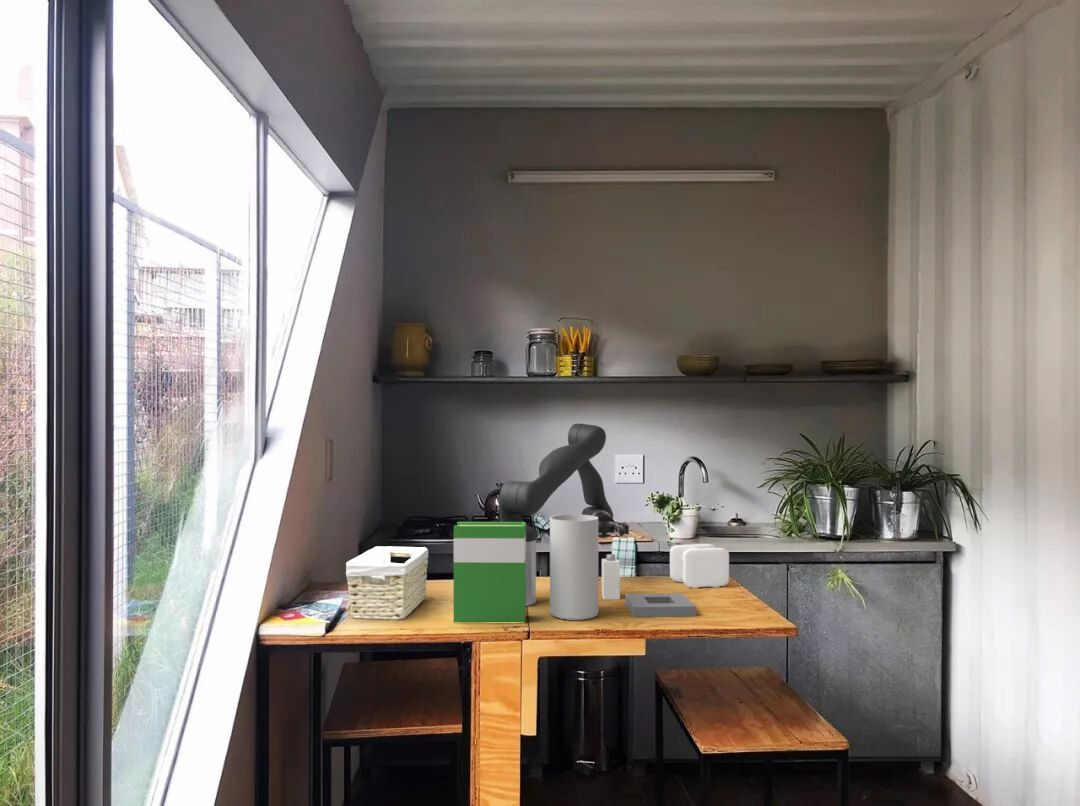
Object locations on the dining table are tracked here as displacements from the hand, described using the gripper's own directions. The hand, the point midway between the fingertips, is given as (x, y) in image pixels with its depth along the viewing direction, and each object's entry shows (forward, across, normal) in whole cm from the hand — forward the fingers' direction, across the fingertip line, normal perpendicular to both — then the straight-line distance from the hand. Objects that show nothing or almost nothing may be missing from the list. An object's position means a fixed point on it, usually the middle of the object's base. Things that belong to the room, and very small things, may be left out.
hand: (607, 533), depth 226 cm
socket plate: (+25, +11, +16) cm, 31 cm away
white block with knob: (+11, 0, +16) cm, 20 cm away
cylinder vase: (+29, -12, +16) cm, 35 cm away
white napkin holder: (-5, +28, +17) cm, 33 cm away
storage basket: (+23, -61, +16) cm, 67 cm away
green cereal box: (+33, -33, +16) cm, 50 cm away
